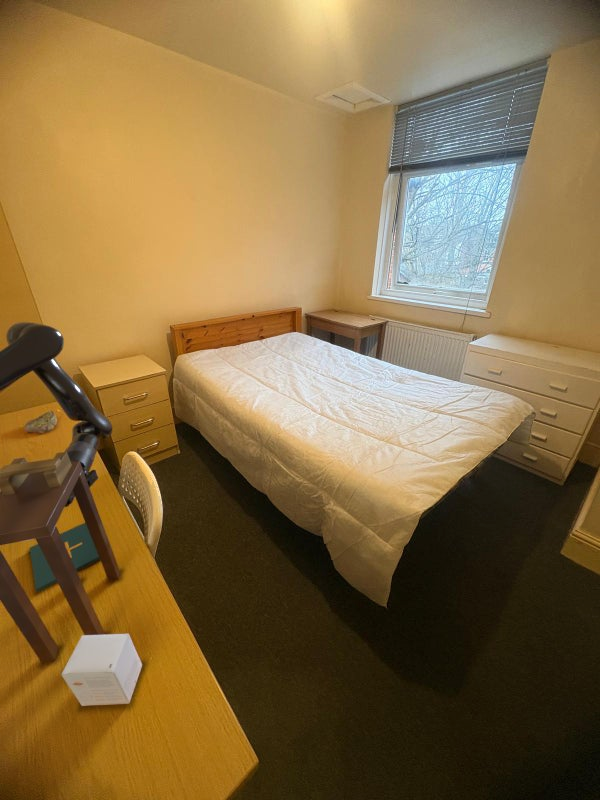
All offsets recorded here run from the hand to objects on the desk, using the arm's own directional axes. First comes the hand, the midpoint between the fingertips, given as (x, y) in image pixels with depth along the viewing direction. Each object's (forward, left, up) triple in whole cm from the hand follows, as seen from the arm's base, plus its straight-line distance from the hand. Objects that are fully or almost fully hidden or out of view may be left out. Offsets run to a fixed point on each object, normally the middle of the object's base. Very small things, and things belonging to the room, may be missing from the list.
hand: (53, 505), depth 73 cm
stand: (+7, -18, -15) cm, 24 cm away
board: (-1, -1, -15) cm, 15 cm away
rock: (-31, +69, -15) cm, 77 cm away
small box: (+15, -33, -15) cm, 39 cm away
